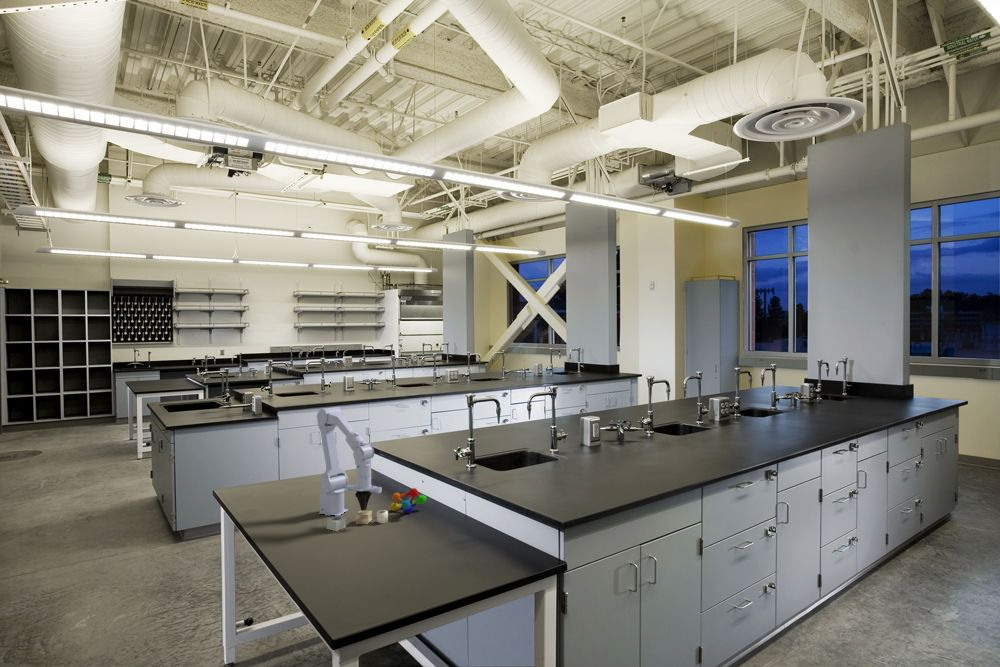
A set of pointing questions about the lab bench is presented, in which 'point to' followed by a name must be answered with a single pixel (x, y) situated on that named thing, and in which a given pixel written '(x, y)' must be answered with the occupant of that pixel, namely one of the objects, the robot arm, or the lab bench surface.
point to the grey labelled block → (336, 523)
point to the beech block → (363, 517)
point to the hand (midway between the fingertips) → (363, 509)
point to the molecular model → (407, 501)
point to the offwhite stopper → (382, 516)
